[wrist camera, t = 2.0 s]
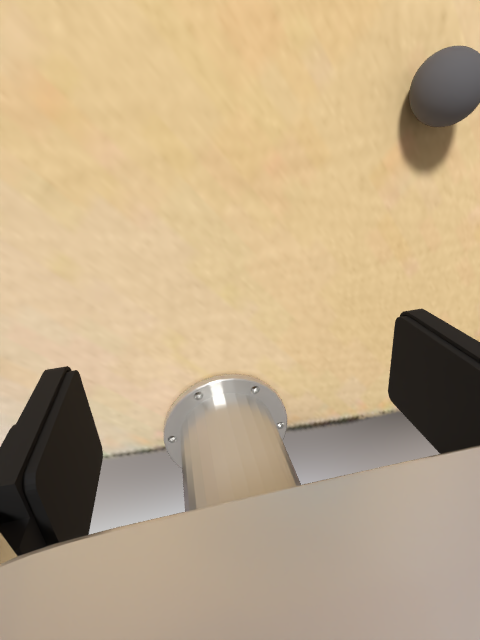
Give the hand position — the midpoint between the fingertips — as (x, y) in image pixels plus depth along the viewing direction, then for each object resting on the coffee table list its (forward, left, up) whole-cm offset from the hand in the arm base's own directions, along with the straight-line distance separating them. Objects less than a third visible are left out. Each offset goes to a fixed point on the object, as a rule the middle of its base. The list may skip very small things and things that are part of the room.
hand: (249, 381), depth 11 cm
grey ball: (0, -21, -19) cm, 29 cm away
